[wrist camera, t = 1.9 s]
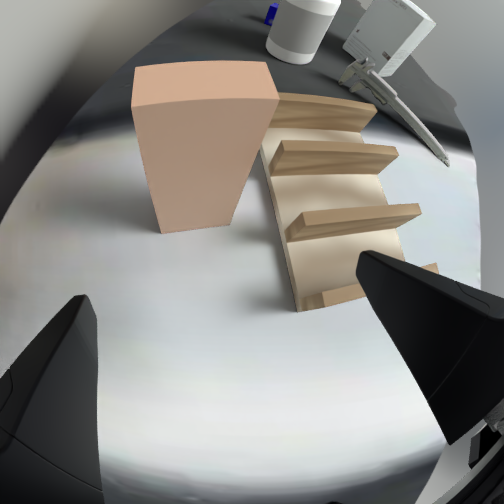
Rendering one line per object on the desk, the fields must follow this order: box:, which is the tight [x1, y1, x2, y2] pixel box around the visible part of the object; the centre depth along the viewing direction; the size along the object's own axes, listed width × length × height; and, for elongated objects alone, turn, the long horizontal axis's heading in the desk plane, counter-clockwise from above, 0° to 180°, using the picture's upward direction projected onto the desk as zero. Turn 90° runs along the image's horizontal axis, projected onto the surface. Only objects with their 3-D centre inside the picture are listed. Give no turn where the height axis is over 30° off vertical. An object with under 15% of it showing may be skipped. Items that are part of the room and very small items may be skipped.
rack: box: [259, 93, 439, 312], centre depth 23 cm, size 18×12×5 cm, turn 11°
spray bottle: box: [266, 0, 341, 65], centre depth 23 cm, size 7×7×18 cm
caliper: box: [338, 57, 450, 167], centre depth 29 cm, size 20×1×6 cm, turn 63°
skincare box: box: [343, 0, 436, 77], centre depth 28 cm, size 8×6×15 cm
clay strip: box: [131, 61, 280, 234], centre depth 16 cm, size 2×6×14 cm, turn 102°
